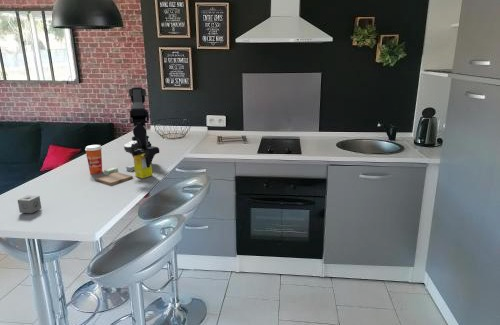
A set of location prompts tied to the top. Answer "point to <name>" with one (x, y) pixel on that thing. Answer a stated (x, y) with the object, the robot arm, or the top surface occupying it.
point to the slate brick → (130, 168)
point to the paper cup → (94, 158)
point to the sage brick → (110, 171)
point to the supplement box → (142, 167)
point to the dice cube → (29, 204)
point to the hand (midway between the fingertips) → (143, 166)
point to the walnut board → (113, 178)
